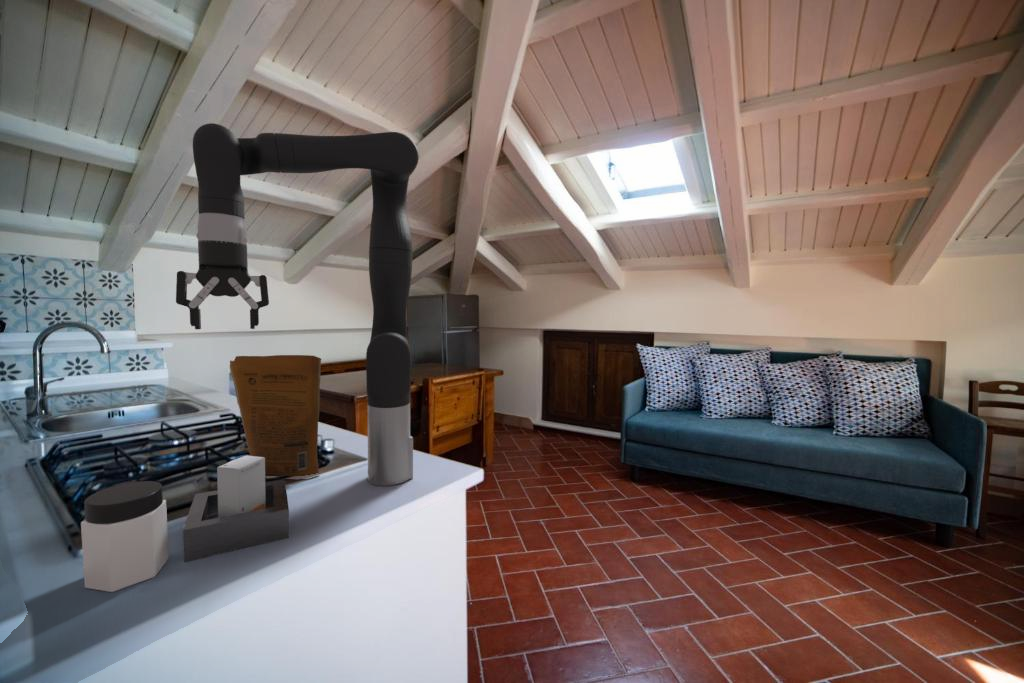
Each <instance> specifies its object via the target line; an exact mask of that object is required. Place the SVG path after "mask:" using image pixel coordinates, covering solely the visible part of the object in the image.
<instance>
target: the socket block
mask: <svg viewBox="0 0 1024 683" xmlns="http://www.w3.org/2000/svg"><path fill="white" fill-rule="evenodd" d="M286 485H287V484H286V479H274V480H270V481H269V480H268V481H265V505H266V508H265V509H260V510H255V511H250V512H245V513H240V514H235V515H230V516H225V517H219V518H218V489H216V490H211V491H204V492H199V493H195V494H194V497H193V500H192V502H191V505H190V507H189V511H188V514H187V517H186V520H185V523H184V526H183V528H182V540H183V541H182V542H183V544H182V545H183V546H182V547H183V563H187V562H191V561H195V560H201V559H205V558H210V557H212V556H213V557H214V556H216V555H221V554H227V553H230V552H234V551H239V550H243V549H247V548H252V547H256V546H260V545H264V544H269V543H273V542H277V541H282V540H286V539H290V509H289V507H290V506H289V502H288V501H289V500H288V492H287V486H286Z"/></svg>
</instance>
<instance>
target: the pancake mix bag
mask: <svg viewBox="0 0 1024 683" xmlns="http://www.w3.org/2000/svg"><path fill="white" fill-rule="evenodd" d="M321 364H322V358H320V357H318V356H316V355H311V354H310V355H309V354H307V355H306V354H305V355H304V354H279V355H278V354H276V355H237V356H235V358H234V360H229V369H230V371H229V372H230V374H231V378H232V381H233V386H234V391H235V395H236V402H237V405H238V408H239V413H240V418H241V422H242V426H243V431H244V434H245V435H244V437H245V441H246V446H247V449H248V452H249V456H256V457H265V476H305V475H311V474H316V473H320V469H319V463H318V452H317V451H318V441H319V438H318V437H319V419H320V402H321V400H320V399H321V397H320V395H321V394H320V392H321V391H320V389H321V388H320V386H321Z"/></svg>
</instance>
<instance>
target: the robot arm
mask: <svg viewBox="0 0 1024 683" xmlns="http://www.w3.org/2000/svg"><path fill="white" fill-rule="evenodd" d="M192 154H193V161H194V167H195V175H196V178H197V185H198V187H197V188H198V192H197V193H198V194H197V201H198V203H197V204H198V221H197V232H196V238H197V249H198V250H197V251H198V253H197V256H198V270H197V272H196V273H195V272H185V271H183V270H179V271H177V272H176V283H175V284H176V285H175V286H176V288H175V290H176V291H175V303H176V304H177V305H181V306H184V307H186V308H188V310H189V323H190V326H191V327H194V330H201V329H202V320H201V316H202V315H201V308H200V305H201V304H203V302H204V301H205V300H206V299H208V297H209V296H210V295H211V296H214V297H224V296H226V297H231V298H235V297H237V296H240V297H241V298H242V299H243V300H244V301H245V303H247V305H248V306H249V307H250V309H249V321H250V322H249V324H250V329H252V330H255V328H256V327H258V326H259V323H260V321H259V320H260V319H259V316H260V315H259V310H260V309H261V308H265V307H266V306H269V304H270V302H269V288H268V279H267V276H266V275H265V274H260V275H251V274H249V268H248V236H247V234H248V232H247V226H246V222H245V221H246V219H245V197H244V193H243V190H242V186H241V176H249V175H258V174H264V173H279V174H280V173H281V174H316V173H324V172H330V171H335V170H345V169H346V170H347V169H364V170H370V177H371V180H370V181H371V190H372V191H371V192H372V211H371V212H372V213H371V221H370V229H369V230H370V231H369V245H368V273H369V274H368V275H369V284H370V285H369V286H370V292H371V299H372V306H373V307H372V310H373V311H372V312H373V313H372V314H373V316H372V325H371V326H372V327H371V334H370V341H369V343H368V345H367V347H366V354H365V364H366V366H365V369H366V370H365V371H366V373H365V374H366V381H365V382H366V397H367V400H366V401H367V404H366V405H367V481H368V482H369V483H370V484H371V485H376V486H382V487H383V486H384V487H385V486H395V485H399V484H401V483H404V482H406V481H408V480H410V479H411V480H412V479H413V478H414V437H413V436H412V435H411V390H412V388H411V387H412V386H411V384H412V382H411V379H412V378H411V377H412V376H411V375H412V371H411V369H412V353H411V348H410V345H409V344H410V343H409V339H408V338H409V337H408V324H407V307H408V302H409V295H410V291H411V290H410V289H411V282H412V274H413V239H412V238H413V237H412V232H411V228H410V227H411V226H410V224H409V219H408V213H407V199H408V188H409V187H408V186H409V181H410V177H411V175H412V174H413V173H414V171H415V170H416V169H417V166H418V164H419V160H420V155H419V150H418V148H417V145H416V144H415V142H414V141H413V139H411V137H409V136H407V135H406V134H404V133H401V132H398V131H385V132H376V133H367V134H354V135H350V134H349V135H314V134H313V135H309V134H298V133H297V134H294V133H279V132H275V133H274V132H260V133H259V134H258V135H256V136H255V137H243V138H242V137H241V138H237V136H236V135H235V134H234V133H233V132H232V131H231V130H230V129H229V128H227V127H226V126H223V125H221V124H219V123H212V122H210V123H205V124H202V125H201V126H200V127H198V128H197V129H196V130H195V132H194V133H193V137H192ZM195 279H196V280H197V281H198V282H199V284H200V285H201V286H202V288H201V289H200V291H199V292H197V294H196V295H195V296H194V297H193V298H192V299H187V297H188V285H190V284H192V283H193V281H194V280H195ZM251 282H253V283H254V285H255V286H256V287H257V288H260V297H261V298H260V301H259V300H258V301H255V299H253V297H252V296H251V295H250V294H249V293H248V292H247V290H246V288H247V287H248V286H249V284H250V283H251Z"/></svg>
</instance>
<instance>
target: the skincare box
mask: <svg viewBox="0 0 1024 683" xmlns="http://www.w3.org/2000/svg"><path fill="white" fill-rule="evenodd" d="M216 475H217V476H216V478H217V484H216V485H217V490H218V518H219V517H225V516H230V515H235V514H240V513H245V512H250V511H255V510H260V509H265V508H266V505H265V482H266V479H265V457H256V456H250V455H248V454H246V455H243V456H240V457H239V458H236V459H233V460H230V461H229V462H226V463H224V464H222V465H219V466H217V468H216Z"/></svg>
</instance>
